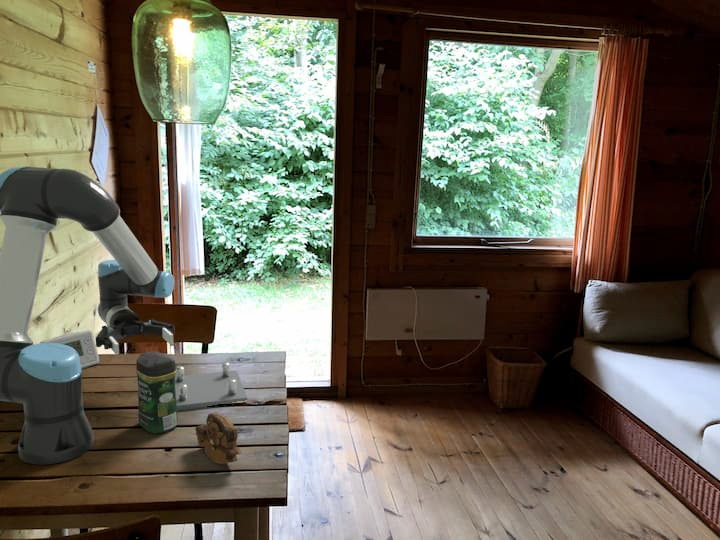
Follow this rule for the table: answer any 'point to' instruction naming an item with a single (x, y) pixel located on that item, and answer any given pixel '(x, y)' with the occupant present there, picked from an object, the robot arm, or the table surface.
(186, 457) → the table surface
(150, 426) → the coffee jar
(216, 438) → the wooden carving
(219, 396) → the base plate
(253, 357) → the table surface
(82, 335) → the digital clock
